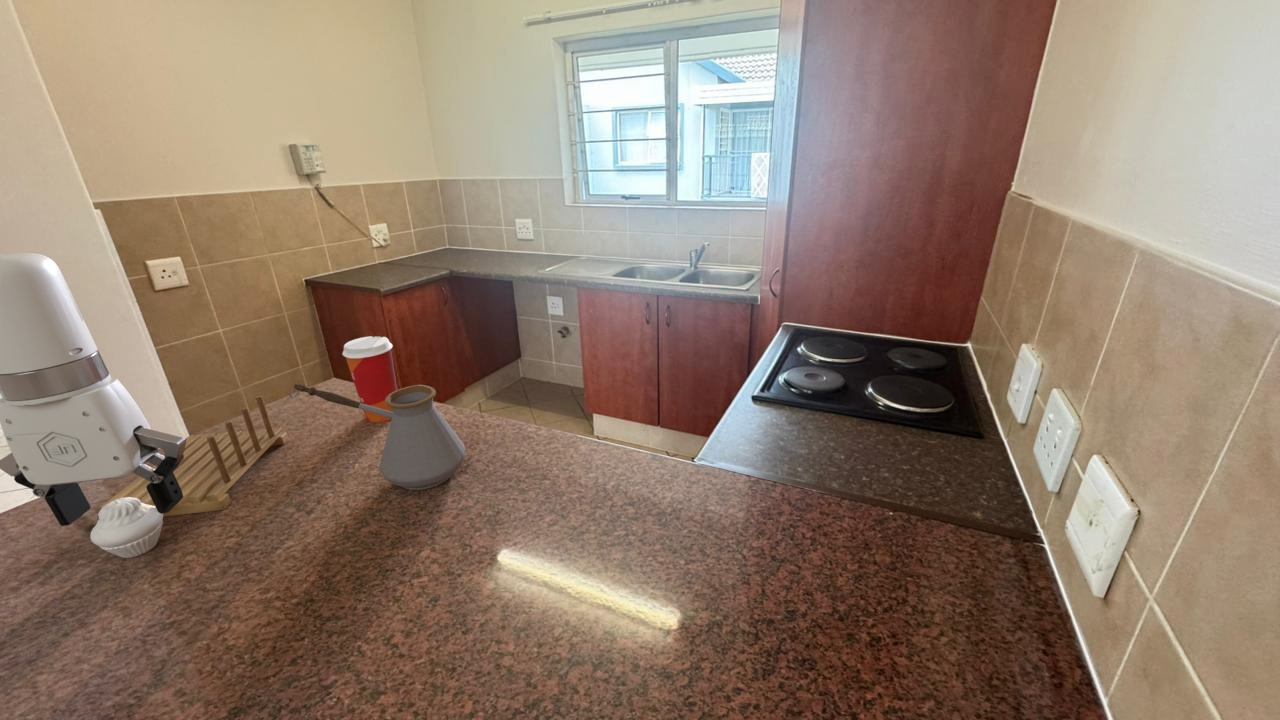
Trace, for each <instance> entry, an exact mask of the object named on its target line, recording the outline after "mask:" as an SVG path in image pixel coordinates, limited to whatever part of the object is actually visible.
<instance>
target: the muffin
mask: <svg viewBox="0 0 1280 720" xmlns="http://www.w3.org/2000/svg"><path fill="white" fill-rule="evenodd" d="M97 516H98V519H97V521H96V524H95V526H93V528H92V529H91V531H90V534H89V537H90V541H91V542H92V543H93V544H94V545H96V546H97V547H99V548H100V549H101V550H103V551H105V552H108V553H110V554H113V555H115V556H117V557H120V558H124V559H131V558H135V557H139V556H141V555H143V554H146V553H147V552H149V551H151V550H152V549H153V548H155V547H156V546H157V544H158V542H159V539H160V535H161V532H162V529H163V525H164V523H163V522H164V520H163V519H164V517H163V514H160V513H159V512H158V511H157V509H156V507H155V506H152V505H147V504H144V503H141V502H140V500H139V499H137V498H132V497H126V498H120V499H116V500H115V501H112V502H110V503H108V504H106V505H105V506H104V507H102V508H101V509H99V511H98V513H97Z"/></svg>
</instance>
